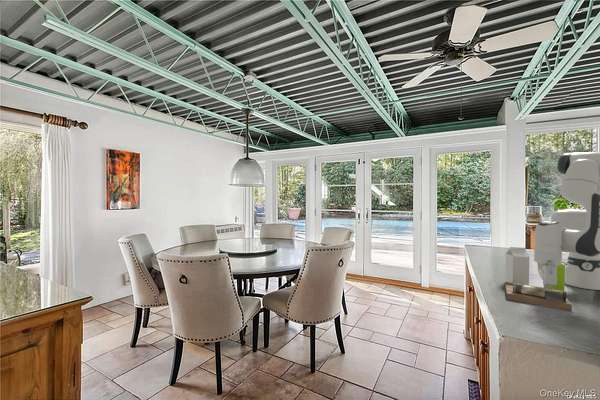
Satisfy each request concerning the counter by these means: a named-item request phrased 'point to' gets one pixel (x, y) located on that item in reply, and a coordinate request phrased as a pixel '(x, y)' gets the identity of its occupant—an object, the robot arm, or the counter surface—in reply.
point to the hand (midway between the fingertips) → (546, 290)
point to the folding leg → (534, 290)
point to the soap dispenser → (560, 278)
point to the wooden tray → (539, 298)
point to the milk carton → (517, 266)
